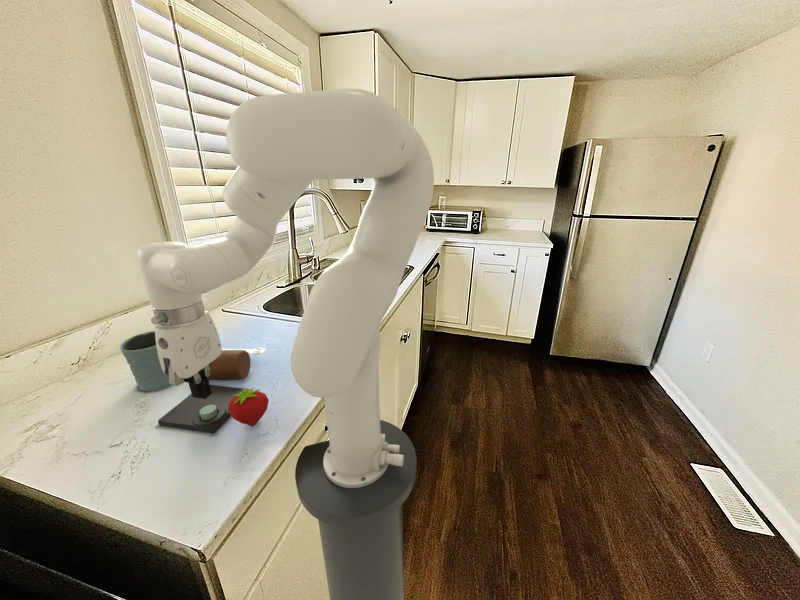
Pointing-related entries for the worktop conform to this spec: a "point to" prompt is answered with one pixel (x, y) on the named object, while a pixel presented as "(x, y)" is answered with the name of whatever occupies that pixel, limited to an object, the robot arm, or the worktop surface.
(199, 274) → the robot arm
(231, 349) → the spatula
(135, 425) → the worktop surface
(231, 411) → the strawberry
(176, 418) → the scale
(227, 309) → the worktop surface
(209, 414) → the button
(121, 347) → the green plant pot
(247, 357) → the mug
